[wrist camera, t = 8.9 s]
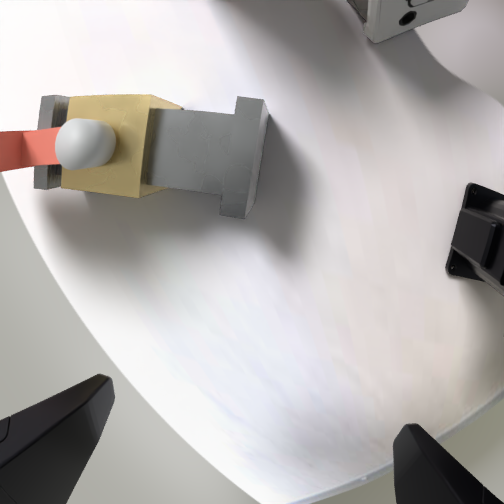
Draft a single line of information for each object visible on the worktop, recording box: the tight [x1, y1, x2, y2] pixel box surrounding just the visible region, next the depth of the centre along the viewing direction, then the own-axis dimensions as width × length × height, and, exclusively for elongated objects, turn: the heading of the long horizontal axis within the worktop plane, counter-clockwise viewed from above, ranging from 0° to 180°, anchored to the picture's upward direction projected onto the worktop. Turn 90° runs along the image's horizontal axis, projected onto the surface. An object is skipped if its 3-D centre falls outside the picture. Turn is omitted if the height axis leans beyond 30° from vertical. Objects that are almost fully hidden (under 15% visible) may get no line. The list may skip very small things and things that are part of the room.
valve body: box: [34, 94, 269, 219], centre depth 16 cm, size 13×6×5 cm, turn 81°
